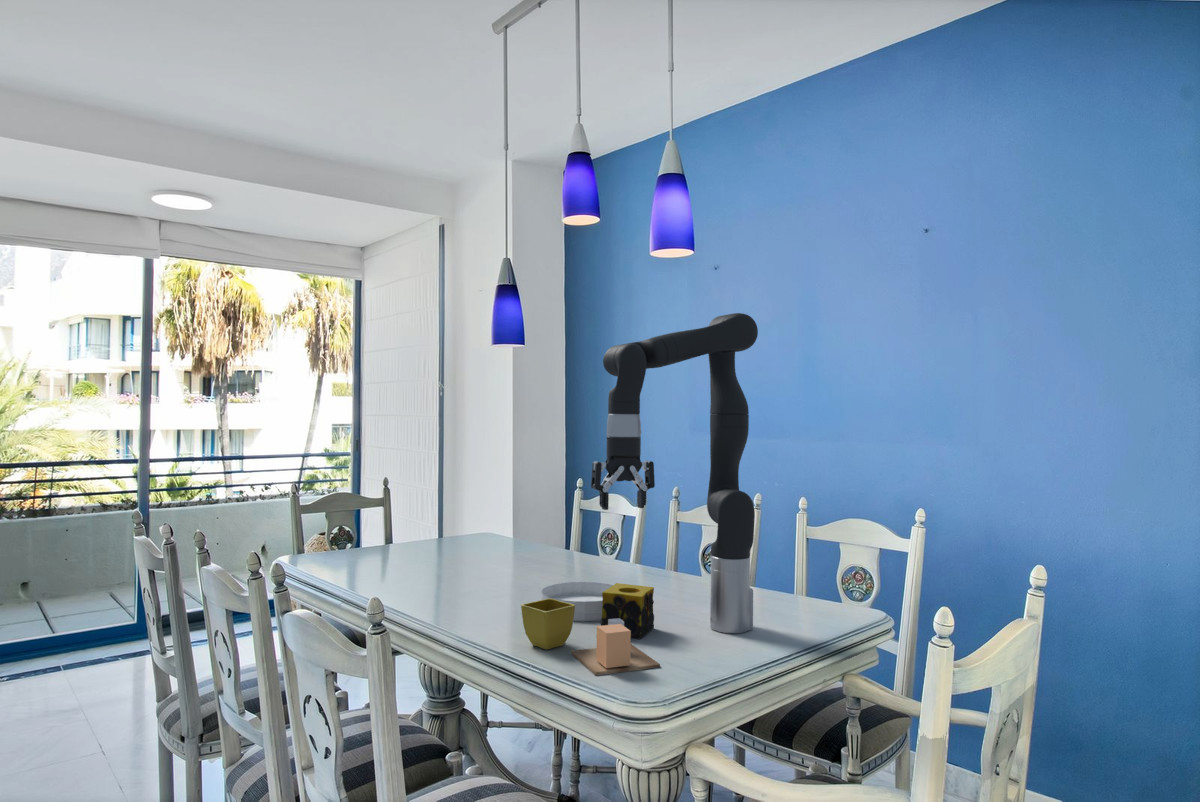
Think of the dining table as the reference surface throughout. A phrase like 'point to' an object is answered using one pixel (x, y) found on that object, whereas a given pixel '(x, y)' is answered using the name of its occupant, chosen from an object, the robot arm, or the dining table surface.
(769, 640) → the dining table surface
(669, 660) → the dining table surface
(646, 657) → the board
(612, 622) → the metal post
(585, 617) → the dish
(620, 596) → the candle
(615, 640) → the salmon pink brick
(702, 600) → the dining table surface
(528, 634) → the flower pot
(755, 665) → the dining table surface
